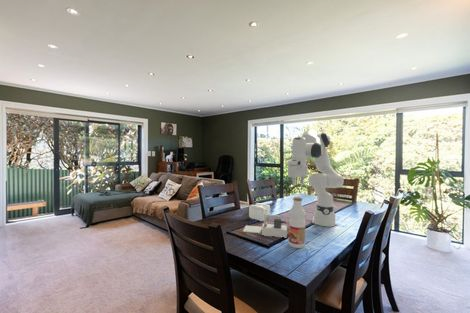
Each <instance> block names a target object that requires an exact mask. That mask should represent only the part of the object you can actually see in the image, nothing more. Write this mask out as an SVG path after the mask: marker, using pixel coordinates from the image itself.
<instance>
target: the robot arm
mask: <svg viewBox="0 0 470 313" xmlns="http://www.w3.org/2000/svg"><path fill="white" fill-rule="evenodd" d="M330 143H331V137H330V135H329V134H328V133H327V132H321V133H318V132H317V131H316V130H315V129H313V128H309V129H307V130H306V131H304V132H303V133H302V135H301V136H299V137H294V138H292V144H291V153H292V155H291V159H290V160H288V161H287V165H288V167H287V176H288V177H289V178H291V181H292V185H297V178H300V180H299V183H300V184H304V181H305V177H307V176H308V173H309V171H308V170H309V169H308V165H307V158H314V161H315V162H314V163H315V168H316V169H317V171H319V173H318V172H317V173H316V172H315V173H310V175H309V176H308V179H307V182H308V184H309V186H310V187H312V188H313V189H314V190H315V193H316V197H317V204H316V209H315V212H312V213H313V217H312V220H311V223H312V224H314V225H318V226H321V227H335V226H338V225H339V224H338V222H337V221H336V213H335V212H334V196H333V194H332V193H330V192H328V191H326V188H327V189H329V188H330V189H331V188H332V189H338V188H341V187H342V186H343V185H344V181H345V180H344V177H343V176H342V174H339V173H338V172H337V171H336V170H335V169H334V168H333V167H332V164H331V159H330V154H329V152H328V150H327V148H329V145H330Z"/></svg>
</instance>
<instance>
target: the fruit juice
mask: <svg viewBox="0 0 470 313" xmlns="http://www.w3.org/2000/svg"><path fill="white" fill-rule="evenodd" d="M292 200H293V204H292V206H291V208H290V209H289V212H288V213H289V219H288V241H287V242H288V245H289V247H291V248H295V249H303V248H305V245H306V220H305V217H306V211H305V209H304V207H303V204H302V201H303V198H302V197H296V196H295V197H293V199H292Z"/></svg>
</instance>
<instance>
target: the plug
mask: <svg viewBox="0 0 470 313" xmlns="http://www.w3.org/2000/svg"><path fill="white" fill-rule="evenodd" d="M273 224H274V228H281V225H282V224H287V222H286V221H284V220H282V218H281V219H273Z"/></svg>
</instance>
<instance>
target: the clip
mask: <svg viewBox="0 0 470 313" xmlns="http://www.w3.org/2000/svg"><path fill="white" fill-rule="evenodd" d="M281 217H282V215H278V214H270V215H267V214H264V221H263V224H264V226H267V224H268V219H271V220H274V219H281V220H282V218H281ZM267 218H268V219H267Z"/></svg>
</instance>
